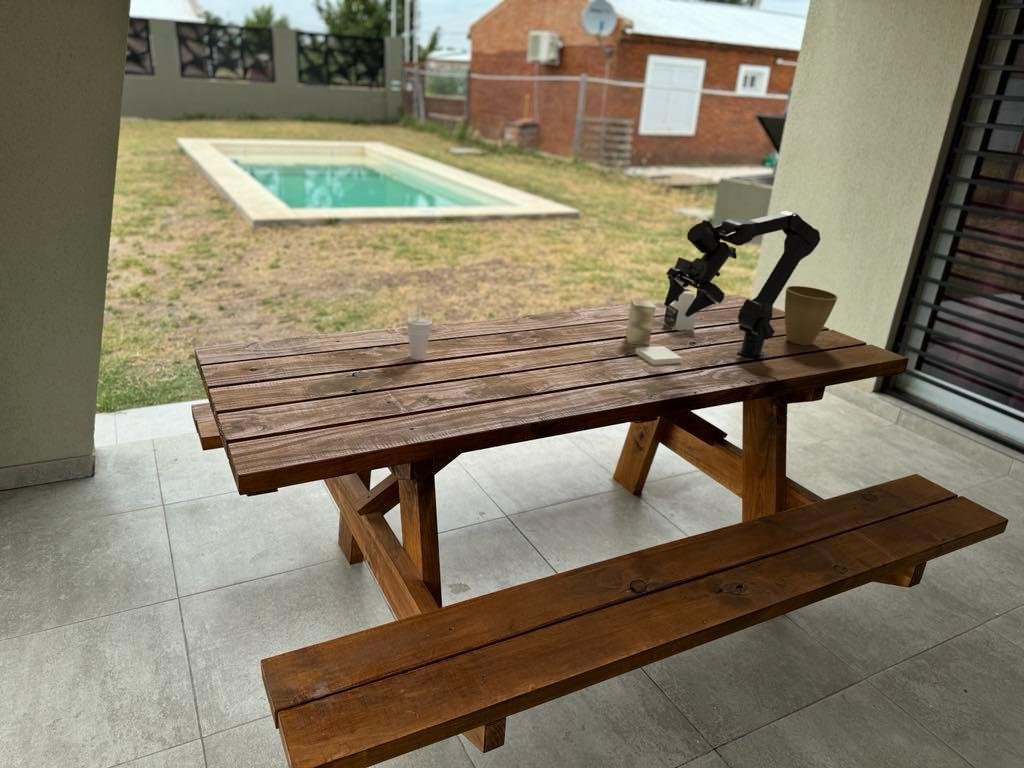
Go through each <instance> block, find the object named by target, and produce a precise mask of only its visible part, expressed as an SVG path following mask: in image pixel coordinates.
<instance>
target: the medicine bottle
mask: <svg viewBox="0 0 1024 768" xmlns="http://www.w3.org/2000/svg"><path fill="white" fill-rule="evenodd" d="M685 289H686V290H685V291H684V292H683V293H682V294H681V295H680V296H679V297H678V298H677V299H675V300H674V301H673V302H672V303H671V304H670V305H668V306H665V307H666V308H665V312H664V313H665V314H664V320H663V325H665V324H666V325H665V326H667V327H668V326H669V327H670V328H669V327H668V328H669V329H671V328H672V329H673V331H674V330H678V331H679V332H680V331H683V332H684V330H685V332H686V331H694V330H695V327H696V320H697V316H698V312H696V313H694V314H692V315H691V316H689V317H686V316H685V313H686V311H687V310H688V308H689V307H690V305H691V304H692V302H693V301H694V299H695V297H696V296H695V295H696V293H695V291H693V290H691V289H688V288H685ZM672 329H671V330H672Z"/></svg>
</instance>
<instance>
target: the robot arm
mask: <svg viewBox="0 0 1024 768" xmlns="http://www.w3.org/2000/svg"><path fill="white" fill-rule="evenodd" d="M778 231H782V232H783V233H784V235H785V236H786V237H785V239H784V243H783V253H782V255H781V256H780V258H779V259H778V261H777V263H776V264H775V266H774V267H773V269H772V271H771V273H770V274H769V276H768V278H767V279H766V281H765V283H764V284H763V286H762V287H761V289H760V291H759V292H758V294H757V296H756V297H755V298H752V299H751V300H750V299H748V298H747V299H746V300H745V301H744V302H743V304H742V307H741V308H740V309H739V310H738V312H739V313H738V315H737V319H738V326H739V327H738V328H739V331H742V332H744V335H743V340H742V345H741V348H740V349H739V350H738V351H737V352H736V354H737V355H741V356H745V357H748V358H752V359H755V360H756V359H757V360H760V359H761V358H762V357H764V355H765V352H764V351H763V348H764V344H765V341H766V340H770V339H772V338H773V336H774V334H775V330H774V328H773V326H772V325H771V323H770V322H771V320H772V319H773V306H774V304H775V303H776V301H777V299H778V297H779V296H780V294H781V293H782V291H783V290H784V288H785V286H786V284H787V283H788V281H789V280H790V278H791V277H792V274H794V271H795V270H796V268H797V267H798V265H799V263H800V262H801V261H802V260H803V259H804V258H807V257H808V256H810V255H811V254H812V252H814V250H815V249H816V247H818V245H819V244H820V242H821V233H820V231H819V230H818V229H816V228H814V227H813V226H812V225H811V224H809V223H808V222H806V221H805V220H804V219H803V218H802V217H801V216H800V215H799V214H798V213H797V212H796V213H795V212H791V211H788V210H783V211H781V212H778V213H774V214H768V215H766V216H761V217H757V218H753V219H737V218H736V219H726V220H723V221H722V223H721V224H719V225H716V226H713V224H712V222H711V221H710V220H707V219H703V220H702V221H701V222H699V223H697V224H695V225H693V226H692V227H691V228H690V229H689V230H688V232H687V235H686V239H687V240H688V241H689V242H690V243H691V244H692V246H694V247H695V248H696V249H697V251H699V252H700V253H701V254H703V255H702V256H701V258H699V257H696V258H695V259H693V261H692V260H690V259H686V258H684V257H680V256H678V257H677V261H676V264H675V265H674V266H672V267H669V269H668V270H667V272H666V273H665V274H666V276H667V279H668V280H669V288H668V291H667V294H666V297H665V300H664V304H663V305H664V306H665V307H667V306H668V305H670V304H671V303H672V302H673V301H674V300H675V299H677V298H678V297H679V296H680V295H681V294H682V293H683V292H684V291H685V290H686V289H687V287H691V288H694V289H696V293H695V295H696V296H695V297H694V301H693V302H692V304H691V305H690V307H689V308H688V310H687V311H686V313H685V316H686V317H689V316H691V315H692V314H694V313H696V312H697V313H698V312H701V310H703V309H706V308H708V307H711V306H714V305H716V304H719V305H720V304H721V303H722V302H723V300H725V292H724V291H723V290H722V289H721V288H719V287H720V286H718V285H717V284H715V283H713V282H712V281H713V280H714V278H715V277H717V278H719V277H720V276H721V273H720V272H719V271H720V270H721V269H722V267H723V266H724V265H725V263H726V262H727V261H728V259H729V258H731V259H734V260H735V259H737V255H738V254H737V248H735V247H733V246H729V245H728V244H732V245H734V246H737V247H741V246H743V245H745V244H747V243H749V242H751V241H753V239H754V238H755V237H759V236H761V235H765V234H771V233H775V232H778Z"/></svg>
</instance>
